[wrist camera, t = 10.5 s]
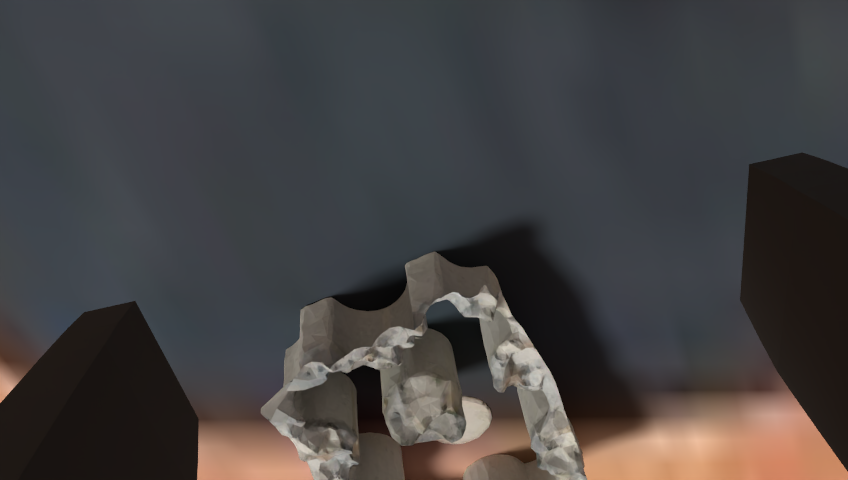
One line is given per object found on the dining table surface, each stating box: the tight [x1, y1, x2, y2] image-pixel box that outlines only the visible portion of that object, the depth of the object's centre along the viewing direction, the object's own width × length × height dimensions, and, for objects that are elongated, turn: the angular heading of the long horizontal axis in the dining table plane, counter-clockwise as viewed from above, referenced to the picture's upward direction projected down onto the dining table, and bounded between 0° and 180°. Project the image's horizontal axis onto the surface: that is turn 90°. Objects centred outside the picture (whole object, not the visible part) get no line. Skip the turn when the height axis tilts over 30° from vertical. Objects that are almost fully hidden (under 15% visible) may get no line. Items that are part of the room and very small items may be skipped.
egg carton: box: [261, 251, 587, 480], centre depth 23 cm, size 11×8×4 cm
